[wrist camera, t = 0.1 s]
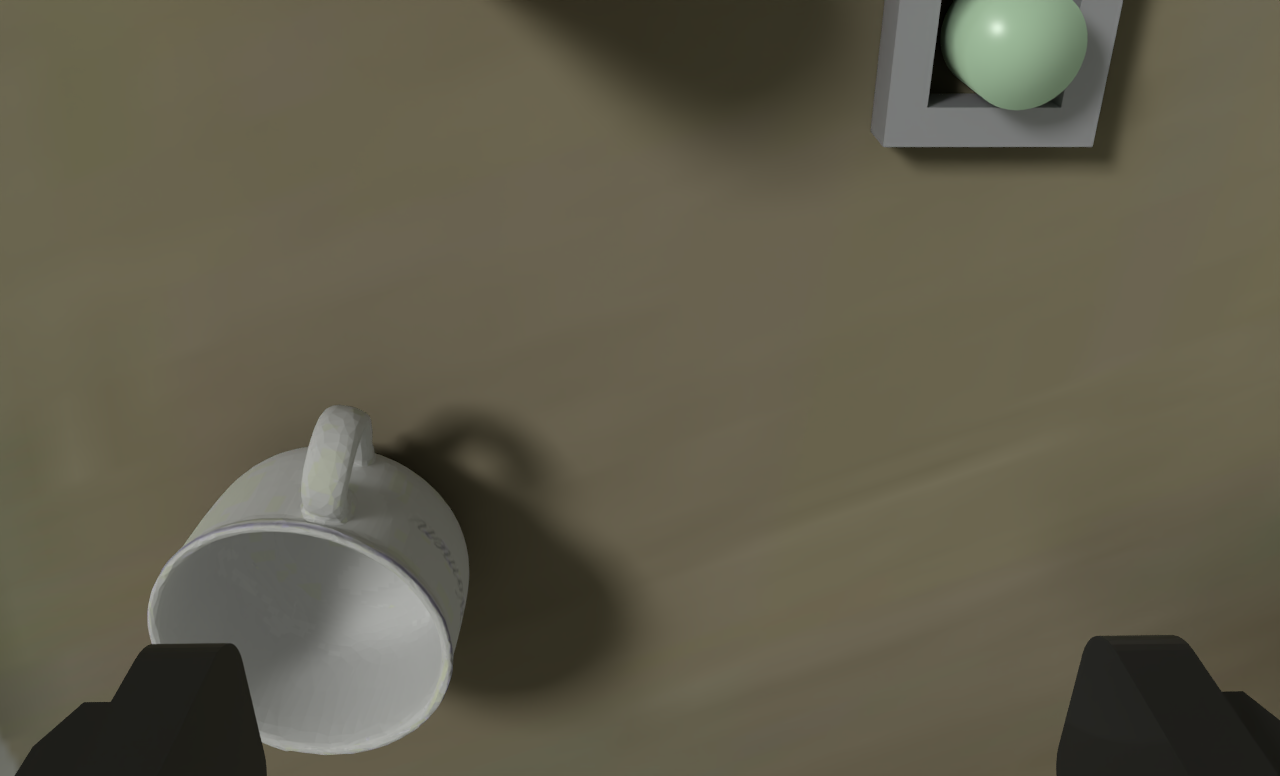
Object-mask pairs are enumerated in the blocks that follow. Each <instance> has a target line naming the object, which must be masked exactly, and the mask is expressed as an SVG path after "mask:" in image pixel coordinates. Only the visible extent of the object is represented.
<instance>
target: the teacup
mask: <svg viewBox="0 0 1280 776" xmlns="http://www.w3.org/2000/svg"><path fill="white" fill-rule="evenodd" d="M468 585H469V558H468V552H467V546H466V543H465V539H464V535H463V533H462V530H461V528H460V525H459V523H458V521H457V519H456V517H455V516H454V514H453V512H452V510H451V508H450V507H449V506H448V505H447V503H446V502H445V501H444V500H443V498H442V497H441V496H440V494H439V493H438V492H437V491H436V490H435V489H434V488H433V487H432V486H430V485H429V484H428V483H427V482H426V481H425V480H424V479H423V478H421V477H420V476H419V475H417V474H416V473H414V472H413V471H411V470H410V469H408V468H407V467H405V466H403V465H402V464H400V463H398V462H396V461H394V460H391V459H389V458H387V457H384V456H382V455H379V454H376V453H374V447H373V445H372V423H371V419H370V416H369V415H368V414H367V413H366V412H364V411H362V410H360V409H358V408H355V407H351V406H344V405H335V406H331V407H329V408H327V409H325V411H324V412H323V413H322V415H321V416H320V418H319V420H318V422H317V424H316V426H315V428H314V431H313V434H312V437H311V440H310V444H309V447H303V448H298V449H294V450H290V451H287V452H283V453H280V454H277V455H275V456H272V457H270V458H268V459H266V460H265V461H263V462H261V463H259V464H257V465H255V466H254V467H253V468H251V469H250V470H249V471H247V472H246V473H245V474H243V475H242V476H241V477H239V478H238V479H237V480H236V481H235V482H234V483H233V484H232V485H231V486H230V487H229V488H228V489H227V490H226V491H225V492H224V494H223V495H222V496H221V497H220V498H219V499H218V501H217V502H216V503H215V504H214V505H213V507H212V508H211V509H210V510H209V512H208V513H207V514H206V515H205V517H204V518H203V519H202V521H201V522H200V523H199V525H198V526H197V527H196V529H195V530H194V531H193V533H192V534H191V536H190V537H189V539H188V540H187V541H186V543H185V544H184V546H183V547H182V548H181V549H180V550H179V551H178V552H177V553H176V554H175V555H174V556H173V557H172V558H171V559H170V560H169V561H168V562H167V563H166V565H165V566H164V567H163V569H162V571H161V573H160V575H159V577H158V579H157V580H156V583H155V585H154V587H153V589H152V592H151V596H150V600H149V604H148V630H149V634H150V638H151V642H152V644H191V643H232V644H234V645H235V646H236V647H237V648H238V650H239V652H240V654H241V657H242V661H243V665H244V669H245V673H246V678H247V682H248V686H249V690H250V695H251V699H252V703H253V707H254V712H255V716H256V720H257V724H258V729H259V733H260V737H261V741H262V743H265V744H267V745H270V746H272V747H275V748H278V749H281V750H284V751H297V752H303V753H313V754H321V755H332V754H353V753H358V752H363V751H367V750H371V749H376V748H379V747H382V746H385V745H388V744H390V743H391V742H394V741H396V740H399V739H401V738H402V737H404V736H406V735H407V734H409V733H411V732H413V731H414V730H415V729H417V728H418V727H419V726H420V725H421V724H423V723H424V722H425V721H426V720H427V719H428V718H429V717H430V716H431V714H432V713H433V712H434V711H435V710H436V709H437V707H438V705H439V704H440V703H441V701H442V700H443V699H444V695H445V692H446V691H447V689H448V686H449V682H450V679H451V676H452V670H453V655H454V651H455V648H456V644H457V640H458V636H459V632H460V628H461V624H462V619H463V615H464V610H465V605H466V600H467V593H468Z"/></svg>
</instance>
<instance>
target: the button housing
mask: <svg viewBox="0 0 1280 776" xmlns="http://www.w3.org/2000/svg"><path fill="white" fill-rule="evenodd" d="M1073 1H1074V2H1075V3H1076V5H1077V6H1078V7H1079V9H1080V10H1081V12H1082V14H1083V17H1084V19H1085V23H1086V26H1087V34H1088V35H1087V49H1086V53H1085V57H1084V60H1083V63H1082V65H1081V67H1080V69H1079V71H1078V73H1077V75H1076V76H1075V78H1074V79H1073V81H1072V82H1071V83H1070V84H1069V85H1068V87H1067V88H1066V89H1064V90H1063V91H1062V92H1061V93H1060V94H1059V95H1058V96H1056V97H1055V98H1053V99H1052V100H1050V101H1048V102H1047V103H1045V104H1042V105H1040V106H1037V107H1034V108H1031V109H1026V110H1008V109H1003V108H1000V107H997V106H994V105H993V104H991V103H989V102H988V101H986V100H985V99H984V98H982V97H981V96H980V95H978V94H932V93H929V91H930V83H931V76H932V68H933V60H934V53H935V45H936V38H937V30H938V22H939V15H940V7H941V0H885V3H884V12H883V21H882V30H881V40H880V49H879V58H878V68H877V77H876V86H875V96H874V105H873V114H872V123H871V132H872V134H873V135H874V136H875V137H876V139H877V140H878V141H879V142H880V144H881V145H882V146H883V147H1093V142H1094V138H1095V133H1096V128H1097V123H1098V118H1099V114H1100V109H1101V104H1102V99H1103V94H1104V90H1105V85H1106V80H1107V75H1108V71H1109V66H1110V61H1111V56H1112V51H1113V47H1114V42H1115V37H1116V32H1117V27H1118V23H1119V18H1120V13H1121V8H1122V3H1123V0H1073Z"/></svg>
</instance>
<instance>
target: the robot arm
mask: <svg viewBox="0 0 1280 776" xmlns="http://www.w3.org/2000/svg"><path fill="white" fill-rule="evenodd" d="M1056 772H1057V776H1280V720H1279V719H1277V718H1276V717H1275V716H1274V715H1272V714H1271V713H1270V712H1268V711H1267V710H1266V709H1265V708H1263V707H1262V706H1261V705H1260V704H1258V703H1257V702H1256V701H1255V700H1253V699H1252V698H1251V697H1249V696H1248V695H1247V694H1246V693H1244V692H1243V691H1238V692H1221V690H1220V689H1219V687H1218V686H1217V684H1216V683H1215V681H1214V680H1213V679H1212V677H1211V676H1210V674H1209V673H1208V671H1207V670H1206V668H1205V667H1204V665H1203V664H1202V662H1201V661H1200V660H1199V658H1198V657H1197V655H1196V654H1195V652H1194V651H1193V649H1192V648H1191V647H1190V646H1189V644H1188V643H1187V642H1186V641H1184V640H1183V639H1182V638H1180V637H1178V636H1174V635H1141V636H1095V637H1093V638H1091V639H1090V640H1089V641H1088V643H1087V644H1086V646H1085V648H1084V651H1083V654H1082V658H1081V662H1080V666H1079V670H1078V674H1077V678H1076V681H1075V685H1074V689H1073V693H1072V697H1071V701H1070V705H1069V708H1068V712H1067V716H1066V720H1065V724H1064V728H1063V732H1062V735H1061V739H1060V743H1059V747H1058V752H1057V762H1056ZM15 776H267V771H266V760H265V754H264V750H263V746H262V741H261V737H260V733H259V729H258V724H257V720H256V716H255V712H254V707H253V703H252V699H251V695H250V690H249V686H248V682H247V678H246V673H245V669H244V665H243V661H242V657H241V654H240V652H239V650H238V648H237V647H236V646H235V645H234V644H232V643H191V644H151V645H148V646H146V647H145V648H144V649H143V650H142V651H141V652H140V653H139V655H138V656H137V658H136V659H135V661H134V663H133V664H132V666H131V668H130V669H129V671H128V673H127V675H126V676H125V678H124V680H123V682H122V683H121V685H120V687H119V689H118V690H117V692H116V694H115V696H114V697H113V699H112V701H111V702H84V703H82V704H81V705H80V706H79V707H78V708H77V709H76V710H74V711H73V712H72V713H71V714H70V715H69V716H68V717H66V718H65V719H64V720H63V721H62V722H61V723H60V724H58V725H57V726H56V727H55V728H54V729H53V730H52V731H50V732H49V733H48V734H47V735H46V736H45V737H44V738H42V739H41V740H40V741H39V742H38V743H37V744H36V745H34V746H33V747H32V749H31V751H30V752H29V754H28V755H27V757H26V759H25V760H24V762H23V763H22V765H21V766H20V768H19V770H18V771H17V773H16V774H15Z"/></svg>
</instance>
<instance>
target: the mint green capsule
mask: <svg viewBox="0 0 1280 776" xmlns="http://www.w3.org/2000/svg"><path fill="white" fill-rule="evenodd" d="M1087 35H1088V34H1087V26H1086V23H1085V19H1084V17H1083V14H1082V12H1081V10H1080V9H1079V7H1078V6H1077V5H1076V3H1075V2H1074V1H1073V0H954V1H953V2H952V4H951V6H950V7H949V9H948V11H947V13H946V15H945V17H944V20H943V24H942V28H941V35H940V45H941V51H942V55H943V58H944V61H945V63H946V65H947V67H948V68H949V70H950V71H951V72H952V73H953V74H954V75H955V76H956V77H957V78H958V79H959V80H961V81H962V82H963V83H964V84H966V85H967V86H968V87H970V88H971V89H972V90H973V91H975V92H976V93H977V94H978V95H980V96H981V97H982V98H984V99H985V100H986V101H988V102H989V103H991V104H993V105H994V106H997V107H1000V108H1003V109H1008V110H1026V109H1031V108H1034V107H1037V106H1040V105H1042V104H1045V103H1047V102H1048V101H1050V100H1052V99H1053V98H1055V97H1056V96H1058V95H1059V94H1060V93H1061V92H1062V91H1063V90H1064V89H1066V88H1067V87H1068V85H1069V84H1070V83H1071V82H1072V81H1073V79H1074V78H1075V76H1076V75H1077V73H1078V71H1079V69H1080V67H1081V65H1082V63H1083V60H1084V57H1085V53H1086V49H1087Z"/></svg>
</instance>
